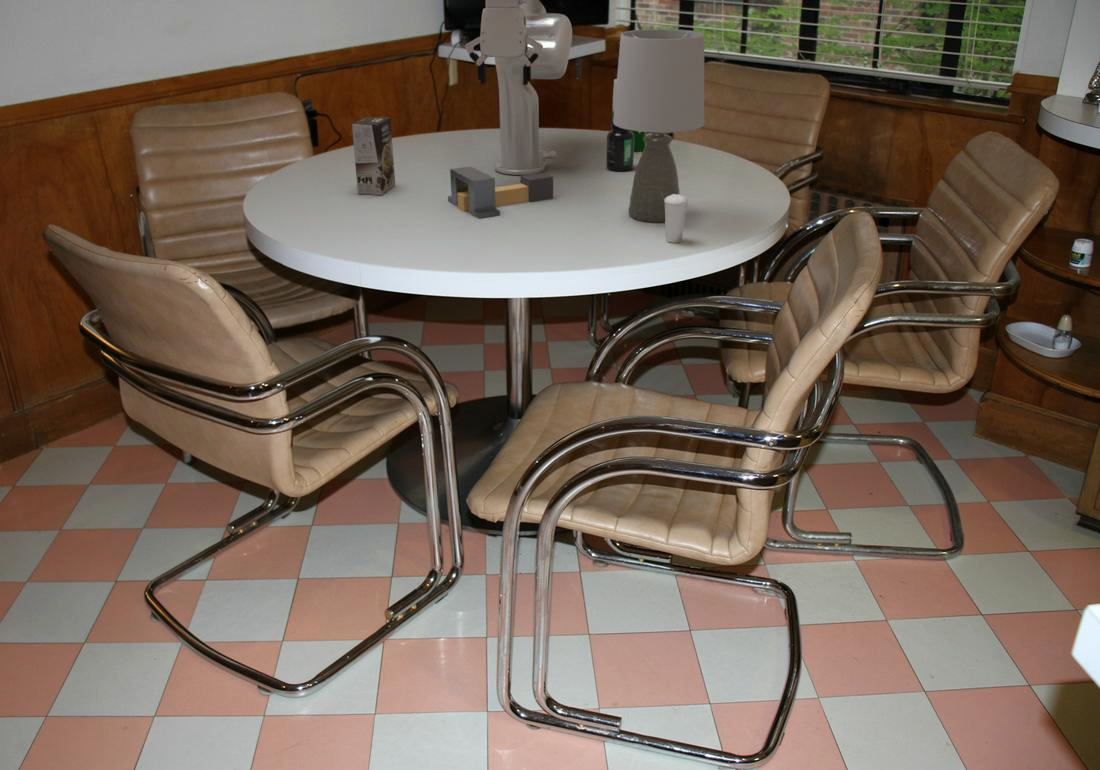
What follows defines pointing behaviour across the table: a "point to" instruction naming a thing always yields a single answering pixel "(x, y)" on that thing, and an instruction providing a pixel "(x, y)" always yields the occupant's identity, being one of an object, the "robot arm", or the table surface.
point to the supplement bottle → (620, 149)
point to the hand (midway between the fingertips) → (504, 83)
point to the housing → (474, 191)
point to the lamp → (658, 107)
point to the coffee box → (373, 155)
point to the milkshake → (674, 217)
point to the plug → (517, 191)
